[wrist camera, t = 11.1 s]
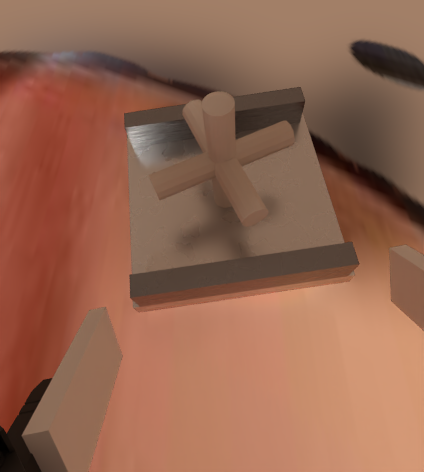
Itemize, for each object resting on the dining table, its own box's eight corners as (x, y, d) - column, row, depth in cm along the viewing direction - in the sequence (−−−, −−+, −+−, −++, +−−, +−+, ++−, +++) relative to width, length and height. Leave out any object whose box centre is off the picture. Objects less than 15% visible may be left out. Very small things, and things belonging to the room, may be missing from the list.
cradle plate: (138, 312, 26) (122, 299, 23) (131, 145, 33) (118, 114, 29) (348, 281, 26) (366, 263, 22) (298, 120, 33) (306, 86, 29)
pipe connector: (192, 276, 25) (165, 210, 16) (147, 175, 30) (106, 77, 21) (312, 223, 27) (349, 133, 17) (253, 132, 31) (258, 22, 22)
